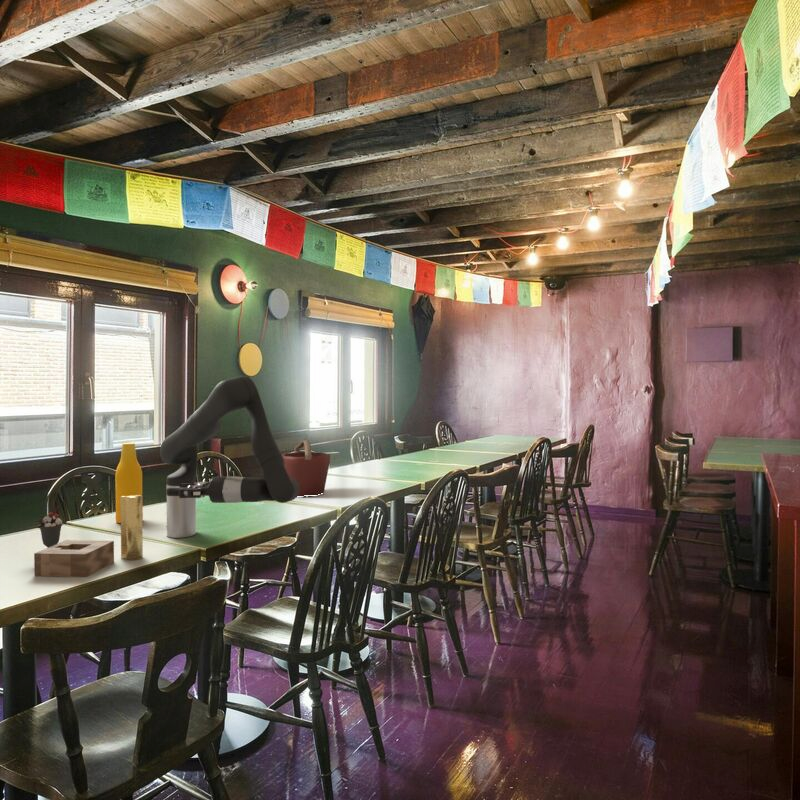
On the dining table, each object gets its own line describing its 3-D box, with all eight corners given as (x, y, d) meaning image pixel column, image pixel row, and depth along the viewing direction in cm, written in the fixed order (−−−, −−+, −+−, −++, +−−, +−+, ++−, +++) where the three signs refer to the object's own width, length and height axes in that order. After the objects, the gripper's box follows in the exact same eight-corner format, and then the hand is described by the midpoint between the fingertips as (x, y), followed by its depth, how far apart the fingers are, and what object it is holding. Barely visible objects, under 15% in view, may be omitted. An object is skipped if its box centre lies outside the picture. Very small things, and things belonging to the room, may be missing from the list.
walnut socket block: (66, 560, 175) (66, 540, 175) (114, 561, 174) (113, 540, 174) (34, 575, 161) (34, 553, 161) (85, 576, 160) (85, 554, 160)
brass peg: (126, 555, 181) (125, 495, 180) (145, 556, 180) (144, 495, 180) (118, 559, 176) (117, 497, 176) (138, 560, 176) (137, 497, 175)
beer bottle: (132, 524, 221) (131, 444, 221) (110, 523, 223) (109, 444, 222) (148, 519, 230) (147, 442, 230) (126, 518, 232) (125, 442, 231)
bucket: (285, 490, 296) (285, 438, 295) (331, 489, 297) (331, 438, 297) (278, 499, 271) (278, 443, 271) (328, 498, 273) (328, 442, 272)
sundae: (68, 555, 180) (68, 505, 180) (56, 562, 174) (56, 509, 173) (46, 556, 180) (45, 505, 180) (33, 562, 174) (32, 510, 173)
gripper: (236, 473, 183) (183, 473, 184) (219, 480, 169) (162, 480, 170) (237, 498, 183) (184, 498, 184) (220, 507, 169) (162, 507, 170)
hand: (173, 489), depth 177 cm, fingers open, 8 cm apart
